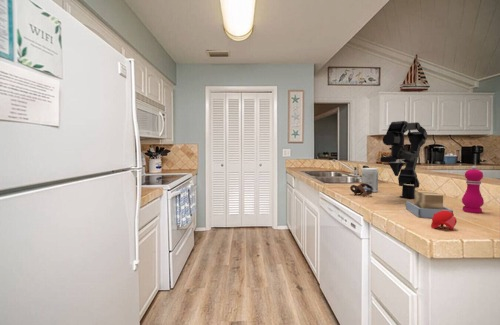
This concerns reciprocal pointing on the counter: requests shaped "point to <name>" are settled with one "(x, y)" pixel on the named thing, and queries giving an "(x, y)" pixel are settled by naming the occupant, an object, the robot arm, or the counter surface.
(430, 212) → the box
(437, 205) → the oak block
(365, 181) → the supplement tub
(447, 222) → the cap
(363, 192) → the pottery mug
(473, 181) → the pepper mill
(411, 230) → the counter surface
